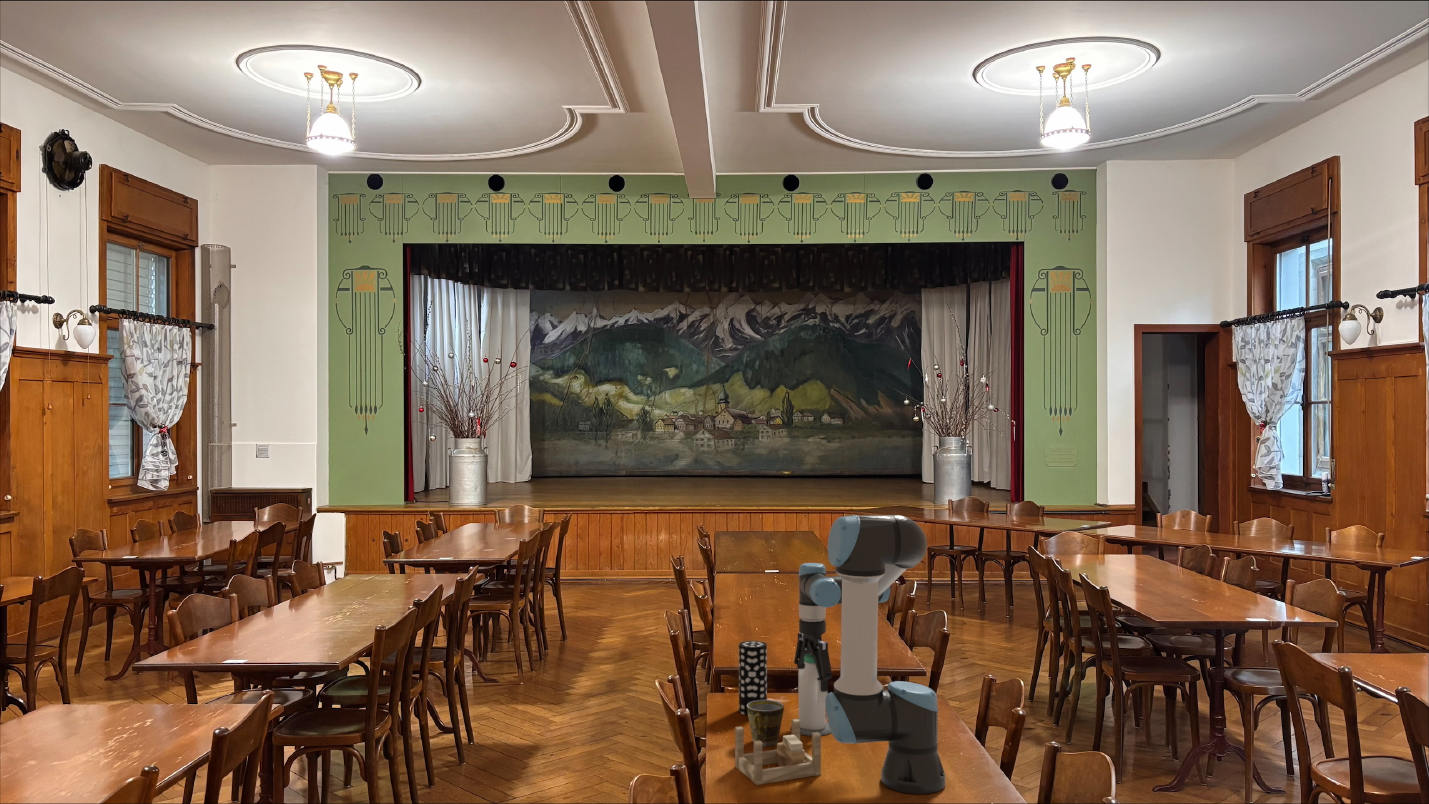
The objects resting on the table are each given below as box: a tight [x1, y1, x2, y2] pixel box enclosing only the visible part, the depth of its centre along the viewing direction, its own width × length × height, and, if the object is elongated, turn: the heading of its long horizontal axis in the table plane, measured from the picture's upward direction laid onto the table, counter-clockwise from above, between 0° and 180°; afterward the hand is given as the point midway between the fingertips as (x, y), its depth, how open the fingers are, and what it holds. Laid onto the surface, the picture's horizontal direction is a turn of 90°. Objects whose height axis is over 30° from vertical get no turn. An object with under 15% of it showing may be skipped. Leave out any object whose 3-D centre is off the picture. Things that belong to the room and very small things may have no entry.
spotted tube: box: [738, 640, 768, 716], centre depth 286 cm, size 8×8×20 cm
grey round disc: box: [790, 721, 832, 737], centre depth 270 cm, size 12×12×1 cm
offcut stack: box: [776, 734, 806, 767], centre depth 240 cm, size 8×4×7 cm, turn 22°
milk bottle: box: [798, 654, 827, 731], centre depth 270 cm, size 8×8×20 cm
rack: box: [734, 718, 822, 786], centre depth 238 cm, size 13×17×10 cm
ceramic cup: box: [747, 699, 785, 748], centre depth 258 cm, size 13×10×10 cm
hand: (812, 696), depth 270 cm, fingers open, 11 cm apart
